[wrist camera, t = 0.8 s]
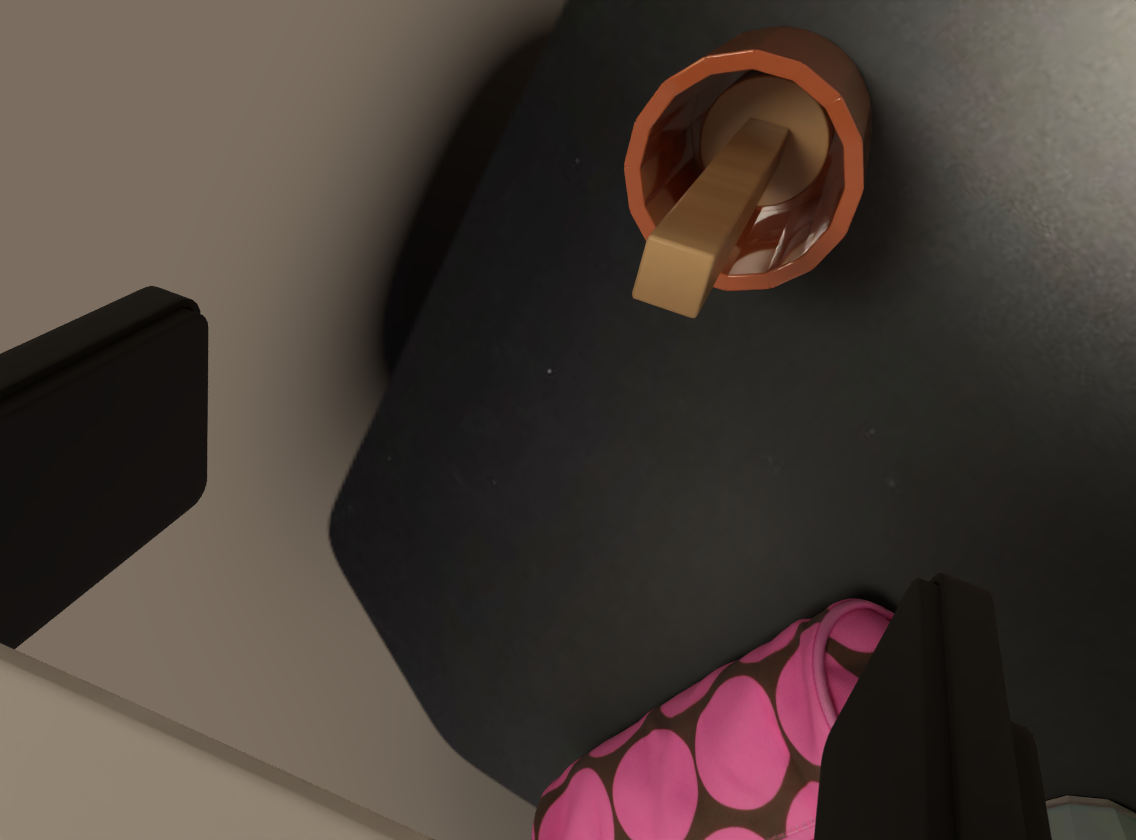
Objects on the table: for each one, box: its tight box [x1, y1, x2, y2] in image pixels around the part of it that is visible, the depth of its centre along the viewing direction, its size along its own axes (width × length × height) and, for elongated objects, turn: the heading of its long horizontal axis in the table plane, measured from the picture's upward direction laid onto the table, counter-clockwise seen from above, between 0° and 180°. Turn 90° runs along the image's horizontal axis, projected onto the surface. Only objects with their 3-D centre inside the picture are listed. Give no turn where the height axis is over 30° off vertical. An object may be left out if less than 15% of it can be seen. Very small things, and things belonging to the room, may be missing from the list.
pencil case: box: [531, 599, 894, 840], centre depth 41 cm, size 21×10×10 cm, turn 144°
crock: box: [624, 26, 872, 291], centre depth 29 cm, size 7×7×8 cm
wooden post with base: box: [632, 70, 834, 318], centre depth 25 cm, size 4×4×16 cm
